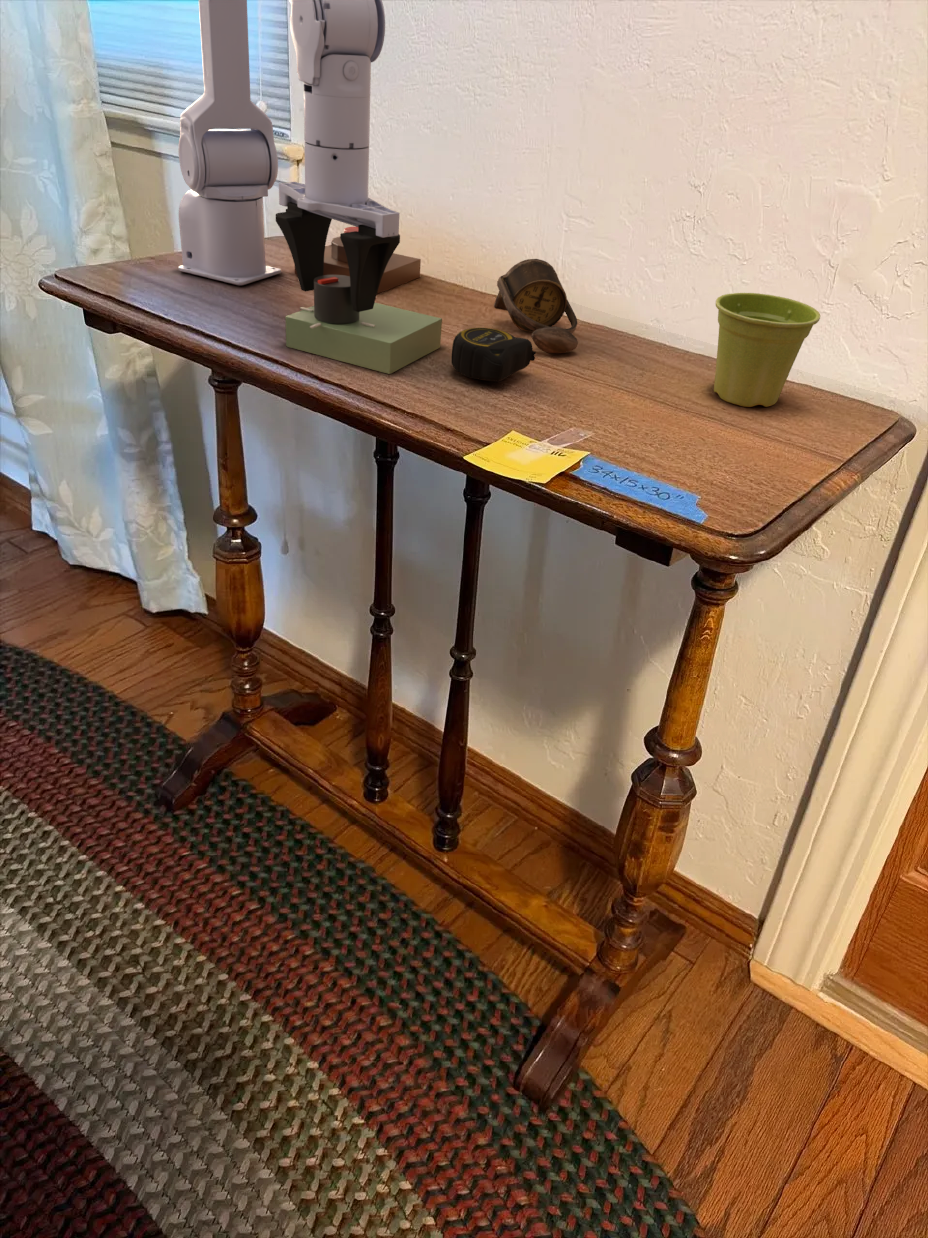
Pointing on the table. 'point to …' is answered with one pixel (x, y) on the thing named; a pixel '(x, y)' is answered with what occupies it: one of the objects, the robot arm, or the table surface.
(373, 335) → the dial panel
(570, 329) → the antique clock
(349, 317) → the dial knob
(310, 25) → the robot arm
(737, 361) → the plant pot
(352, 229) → the red button
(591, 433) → the table surface
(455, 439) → the table surface
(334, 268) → the button block
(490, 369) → the tape measure
